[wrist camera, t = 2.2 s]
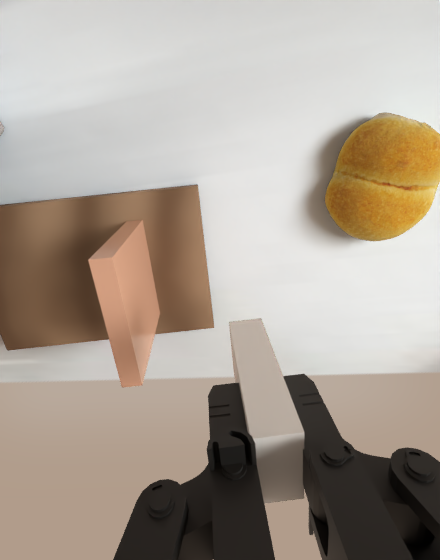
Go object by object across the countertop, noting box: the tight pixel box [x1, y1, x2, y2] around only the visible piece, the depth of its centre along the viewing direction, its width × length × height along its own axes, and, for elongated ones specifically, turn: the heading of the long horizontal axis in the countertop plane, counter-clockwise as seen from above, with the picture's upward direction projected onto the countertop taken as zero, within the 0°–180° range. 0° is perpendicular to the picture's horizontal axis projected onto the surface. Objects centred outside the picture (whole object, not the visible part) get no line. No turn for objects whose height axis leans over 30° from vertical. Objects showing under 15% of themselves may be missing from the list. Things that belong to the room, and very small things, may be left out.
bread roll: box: [325, 113, 440, 241], centre depth 24 cm, size 8×9×4 cm
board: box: [0, 185, 214, 350], centre depth 26 cm, size 18×12×1 cm, turn 95°
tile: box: [88, 220, 160, 387], centre depth 22 cm, size 1×8×9 cm, turn 5°
